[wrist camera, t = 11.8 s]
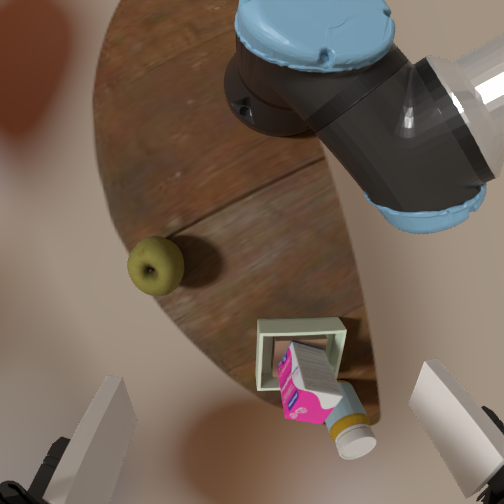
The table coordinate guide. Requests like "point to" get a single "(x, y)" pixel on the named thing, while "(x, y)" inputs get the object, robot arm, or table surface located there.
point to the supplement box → (307, 384)
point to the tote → (292, 328)
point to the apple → (156, 266)
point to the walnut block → (284, 341)
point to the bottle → (350, 425)
